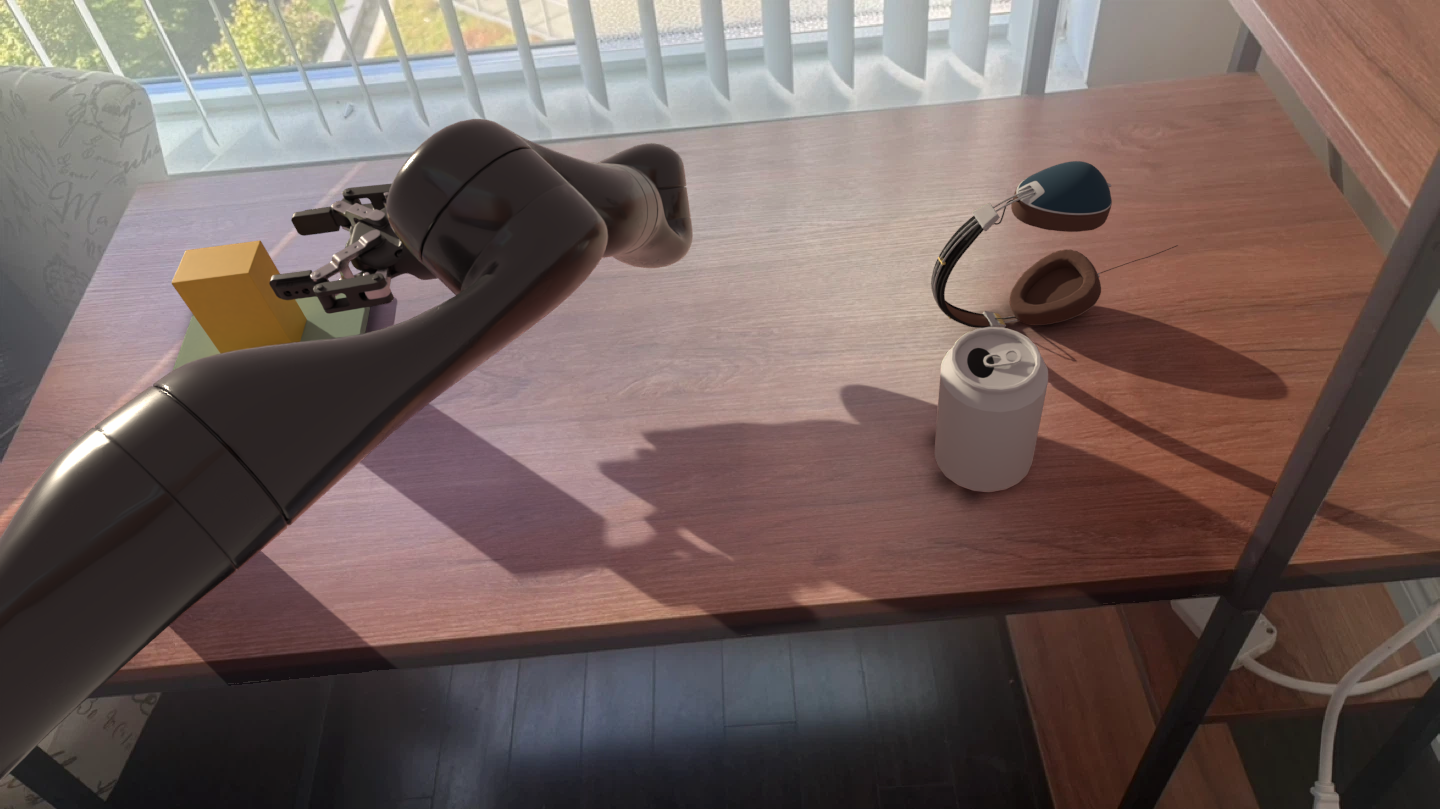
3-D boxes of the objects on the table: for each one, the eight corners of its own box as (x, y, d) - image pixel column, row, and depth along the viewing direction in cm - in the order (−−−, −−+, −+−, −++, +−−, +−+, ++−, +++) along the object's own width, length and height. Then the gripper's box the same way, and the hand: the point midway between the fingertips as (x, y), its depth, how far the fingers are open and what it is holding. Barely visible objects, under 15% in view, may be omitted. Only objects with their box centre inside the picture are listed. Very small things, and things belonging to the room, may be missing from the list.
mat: (164, 415, 94) (158, 408, 93) (200, 311, 103) (195, 304, 102) (355, 386, 93) (351, 379, 93) (374, 285, 103) (371, 277, 102)
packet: (297, 352, 96) (248, 273, 88) (225, 361, 96) (170, 283, 89) (307, 319, 99) (260, 239, 91) (237, 328, 99) (185, 249, 92)
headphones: (1154, 248, 92) (923, 324, 92) (1177, 108, 80) (913, 194, 80) (1191, 293, 88) (949, 372, 88) (1221, 152, 76) (942, 243, 76)
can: (929, 425, 83) (936, 320, 74) (1023, 421, 82) (1042, 315, 73) (938, 500, 78) (947, 398, 69) (1038, 497, 77) (1060, 393, 68)
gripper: (459, 148, 91) (283, 172, 92) (440, 251, 82) (245, 277, 82) (483, 214, 97) (318, 236, 97) (468, 318, 87) (285, 341, 88)
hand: (285, 255), depth 90 cm, fingers open, 8 cm apart
